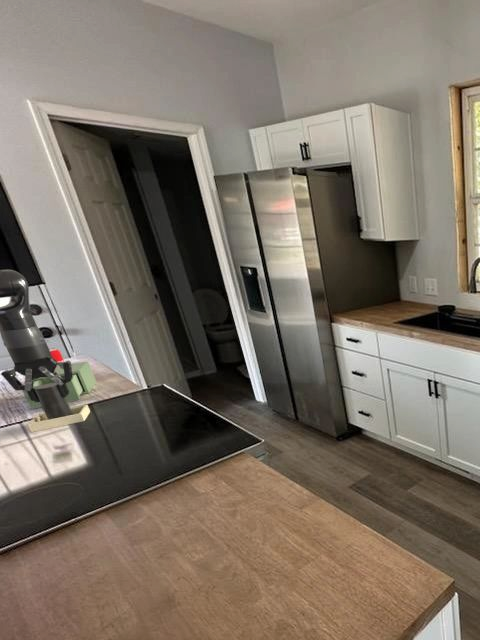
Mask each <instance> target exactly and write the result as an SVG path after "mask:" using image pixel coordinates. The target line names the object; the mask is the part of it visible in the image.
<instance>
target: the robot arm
mask: <svg viewBox="0 0 480 640" xmlns="http://www.w3.org/2000/svg"><path fill="white" fill-rule="evenodd" d="M29 290H30V289H29V283H28V281H27V279H26V278H25V277H24V275H23V274H21V273H20V272H18V271H16V270H15V269H14V270H13V269H0V299H4V298H9V302H8V303H7V304H6V305H2V306H0V337H1V340H2V342H3V345H4V347H5V348H6V350H7V352H8V354H9V357H10V358H11V360H12V362H13V364H14V367H13V368H11V369H5V370H2V371H1V373H0V374H1V375H0V376H2V377H3V379H5V381H6V382H7V383H8V384H9V385H10V386H11V388H12V389H14V390H15V391H17V392H19V391H22V390H24V391H26V392H27V393H28V395H29V397H30V399H31V400H32V401H35V402H39V400H38V398H37V396H36V394H35V392H34V390H33V385H34V380H35V379H38V378H40V377H44V378H45V377H49V378H50V379H51V380H53V381H55V382H56V383H57V384H58V385H59V386H58V388H59V390H60V392H61V394H62V396H63V397H67V396H68V394H69V392H70V391H69V389H68V387H67V385H66V383H67V382H70V381H71V380H72V379H73V376H72V367H71V364H72V362H71V361H70V360H65V361H64V362H57V361H56V360H54V359H53V357H52V355H51V353H50V350H49V349H50V348H49V346H48V344H47V341H46V339H45V337H44V335H43V333H42V331H41V330H40V328H39V327H38V325H37V323H36V320H35V318H34V316H33V314H32V311H31V305H30V291H29ZM57 365H58V366H60V368H61V369H64V375H65V378H64V379H63V378H62V377H60V375H59V374H58V373H57V372H56V371H54V370H55V369H56V367H57ZM17 373H18V374H20V375H22V376H24V384H23V383H21V381H20V380H19V379H18V378H17Z"/></svg>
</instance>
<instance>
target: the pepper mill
mask: <svg viewBox="0 0 480 640" xmlns="http://www.w3.org/2000/svg"><path fill="white" fill-rule="evenodd" d="M58 386H59V385H58V384H57V383H49V384H44V385H40V386H37V387H34V388H33V390H34V392H35V394H36V396H37V398H38V400H39V402H40V404H41V406H42V407H41V409H42V411H43V413H45V414H46V417H47V419H48V420H50V419H55V418H60V417H65V416H70V415H73V414H72V411H71V409H70V408H71V407H70V405H69V402H67V401H66V398H65V397H63V396H62V394H61V392H60V390H59V388H58Z"/></svg>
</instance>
